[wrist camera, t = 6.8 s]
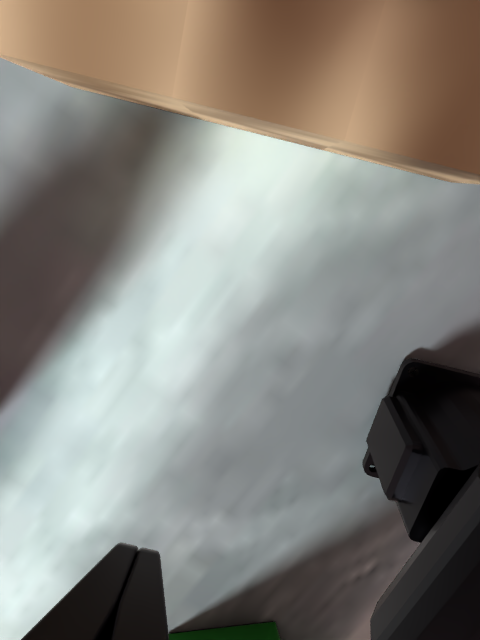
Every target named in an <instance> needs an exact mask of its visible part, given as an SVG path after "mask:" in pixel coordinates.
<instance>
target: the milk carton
mask: <svg viewBox="0 0 480 640" xmlns="http://www.w3.org/2000/svg"><path fill="white" fill-rule="evenodd" d="M168 635H169V640H281V639H280V636H279V633H278V629H277V626H276V623H275V622H268V623H259V624H251V625H242V626H233V627H224V628H216V629H207V630H199V631H190V632H181V633H173V634H168Z"/></svg>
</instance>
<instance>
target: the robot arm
mask: <svg viewBox="0 0 480 640" xmlns="http://www.w3.org/2000/svg"><path fill="white" fill-rule="evenodd" d="M411 367H416V370H415V372H413V373H408V370H409V368H411ZM366 441H367V444H368V449H367V452H366V454H365V457H364V459H363V468H364V471H365V473H366V474H367V475H369V476H372V477H376V478H379V479H380V482H381V485H382V488H383V490H384V493H385V495H386V497H387V498H388V500H391V501H395V502H396V503H397V506H398V508H399V511H400V514H401V516H402V519H403V522H404V525H405V527H406V530H407V533H408V535H409V537H410V539H411V540H413V541H416V542H420V543H421V544H420V545H419V547H418V548H417V549H416V551H415V552H414V553H413V555H412V556H411V557H410V559H409V560H408V561H407V563H406V564H405V566H404V567H403V568H402V570H401V571H400V572H399V574H398V575H397V576H396V578H395V579H394V580H393V582H392V583H391V584H390V586H389V587H388V589H387V590H386V591H385V593H384V594H383V595H382V597H381V598H380V599H379V601H378V602H377V605H376V607H375V610H374V612H373V615H372V617H371V620H370V623H371V640H480V375H479V374H475V373H471V372H467V371H463V370H459V369H455V368H451V367H447V366H442V365H438V364H434V363H430V362H426V361H422V360H418V359H412V358H410V359H407V360H405V361H404V362H403V363H402V364H401V366H400V368H399V371H398V373H397V376H396V378H395V381H394V383H393V386H392V388H391V391H390V394H389V396H386V397H385V398H383V399H382V401H381V403H380V406H379V409H378V411H377V414H376V416H375V419H374V421H373V424H372V427H371V429H370V432H369V434H368V437H367V440H366ZM372 464H374V465H375V467H369V466H370V465H372ZM21 640H169V635H168V625H167V616H166V607H165V597H164V588H163V579H162V569H161V560H160V554H159V552H158V551H155V550H151V549H147V548H140V549H139V550H138V547H137V546H134V545H130V544H126V543H118V544H117V545H116V546H115V547H114V548H113V549H112V550H111V551H110V552H109V553H108V554H107V555H106V556H105V557H104V558H103V559H102V560H101V561H99V562H98V563H97V564H96V565H95V566H94V567H93V568H92V569H91V570H90V571H89V572H88V573H87V574H86V575H85V576H84V577H83V578H82V579H81V580H80V581H79V582H78V583H77V584H76V585H75V586H74V587H73V588H72V589H71V590H70V591H69V592H68V593H67V594H66V595H65V596H64V597H63V598H62V599H61V600H60V601H59V602H58V603H57V604H56V605H55V606H54V607H53V608H52V609H51V610H50V611H49V612H48V613H47V614H46V615H45V616H44V617H43V618H42V619H41V620H40V621H39V622H38V623H37V624H36V625H35V626H34V627H33V628H32V629H31V630H30V631H29V632H28V633H27V634H26V635H25V636H24V637H23V638H22V639H21Z"/></svg>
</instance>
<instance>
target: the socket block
mask: <svg viewBox="0 0 480 640" xmlns="http://www.w3.org/2000/svg"><path fill="white" fill-rule="evenodd" d="M0 57H1V58H3V59H6V60H8V61H10V62H13V63H15V64H18V65H20V66H22V67H25V68H27V69H30V70H32V71H35V72H37V73H39V74H42V75H44V76H47V77H49V78H52V79H54V80H56V81H59V82H61V83H64V84H66V85H68V86H71V87H74V88H78V89H82V90H86V91H90V92H94V93H98V94H102V95H106V96H110V97H114V98H118V99H122V100H126V101H130V102H134V103H138V104H142V105H146V106H150V107H154V108H158V109H161V110H165V111H169V112H173V113H177V114H181V115H185V116H189V117H193V118H197V119H201V120H205V121H209V122H213V123H217V124H221V125H225V126H229V127H233V128H237V129H241V130H245V131H249V132H253V133H257V134H261V135H265V136H269V137H273V138H277V139H281V140H285V141H289V142H293V143H297V144H301V145H305V146H309V147H313V148H317V149H321V150H325V151H329V152H333V153H337V154H341V155H345V156H349V157H353V158H357V159H361V160H365V161H369V162H373V163H377V164H381V165H385V166H388V167H392V168H396V169H400V170H404V171H408V172H412V173H416V174H420V175H424V176H428V177H432V178H436V179H440V180H444V181H448V182H454V183H469V184H480V0H0Z"/></svg>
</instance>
